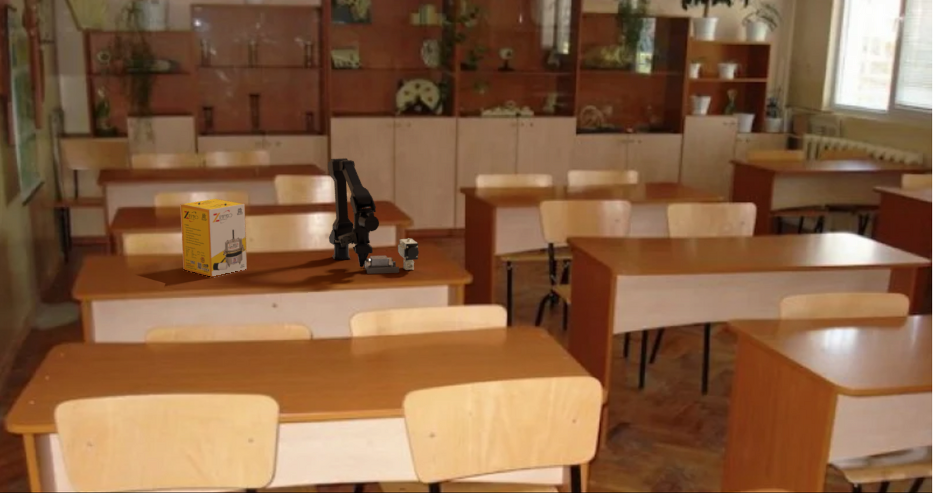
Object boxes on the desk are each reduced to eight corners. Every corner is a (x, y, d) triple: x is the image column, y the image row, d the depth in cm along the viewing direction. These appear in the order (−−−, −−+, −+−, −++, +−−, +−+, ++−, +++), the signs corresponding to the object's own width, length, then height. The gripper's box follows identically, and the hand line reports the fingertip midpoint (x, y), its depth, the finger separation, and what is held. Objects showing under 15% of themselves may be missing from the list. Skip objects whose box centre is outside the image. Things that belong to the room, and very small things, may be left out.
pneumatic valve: (409, 264, 348) (410, 234, 345) (418, 272, 337) (419, 241, 335) (396, 265, 346) (396, 235, 344) (404, 273, 336) (405, 242, 333)
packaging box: (218, 262, 345) (216, 198, 339) (246, 269, 336) (244, 203, 330) (183, 270, 332) (180, 204, 327) (211, 278, 323) (208, 209, 317)
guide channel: (364, 267, 343) (364, 262, 342) (395, 266, 345) (395, 261, 345) (367, 273, 334) (367, 268, 333) (399, 272, 336) (399, 267, 336)
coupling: (365, 268, 341) (365, 256, 339) (391, 268, 343) (391, 255, 342) (366, 272, 336) (366, 259, 335) (393, 271, 338) (393, 258, 337)
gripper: (337, 221, 341) (337, 261, 344) (341, 231, 323) (342, 273, 327) (366, 221, 343) (366, 260, 347) (372, 231, 326) (372, 272, 329)
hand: (361, 266), depth 337 cm, fingers closed, pressing on coupling
